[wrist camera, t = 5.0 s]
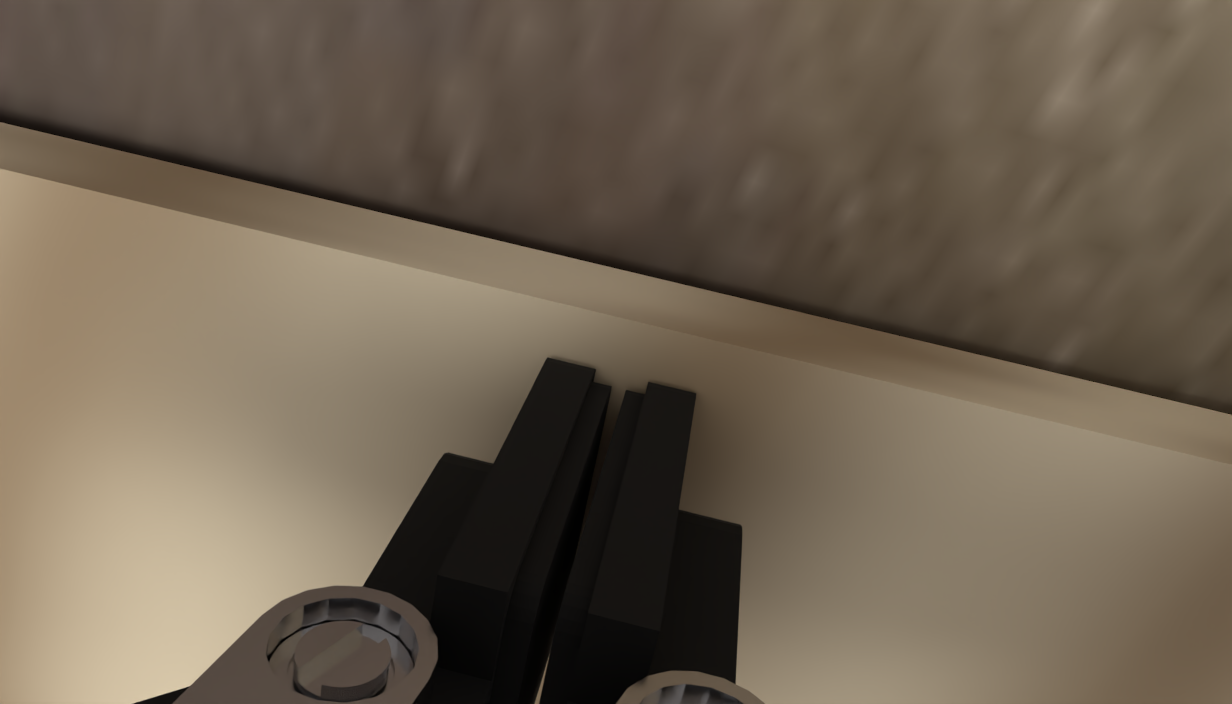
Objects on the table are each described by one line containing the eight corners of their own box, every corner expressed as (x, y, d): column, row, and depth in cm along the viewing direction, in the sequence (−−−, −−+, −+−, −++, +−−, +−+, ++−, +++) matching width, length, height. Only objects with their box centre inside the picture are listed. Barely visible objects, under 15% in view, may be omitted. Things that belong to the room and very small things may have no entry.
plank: (1939, 582, 10) (2083, 674, 9) (1445, 1061, 14) (1502, 1166, 13) (-375, 32, 12) (-501, 51, 11) (-222, 606, 16) (-300, 664, 15)
